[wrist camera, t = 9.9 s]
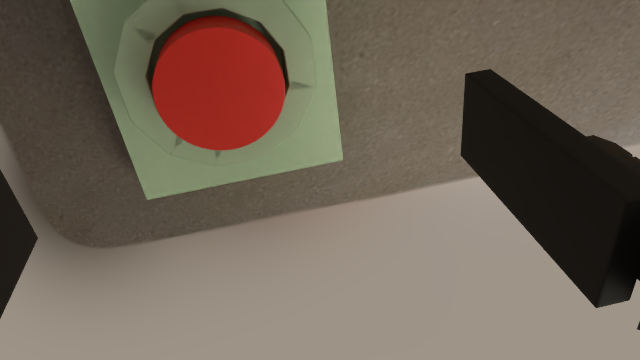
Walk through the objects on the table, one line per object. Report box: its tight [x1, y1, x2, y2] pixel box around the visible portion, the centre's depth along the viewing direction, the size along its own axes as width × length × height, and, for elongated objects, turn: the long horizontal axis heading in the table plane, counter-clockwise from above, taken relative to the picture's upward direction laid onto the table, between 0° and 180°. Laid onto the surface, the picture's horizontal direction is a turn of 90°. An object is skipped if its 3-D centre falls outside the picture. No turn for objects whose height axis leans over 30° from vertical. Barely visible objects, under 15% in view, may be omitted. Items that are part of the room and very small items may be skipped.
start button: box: [152, 16, 285, 150], centre depth 20 cm, size 5×5×2 cm
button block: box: [70, 0, 343, 200], centre depth 22 cm, size 12×10×4 cm
